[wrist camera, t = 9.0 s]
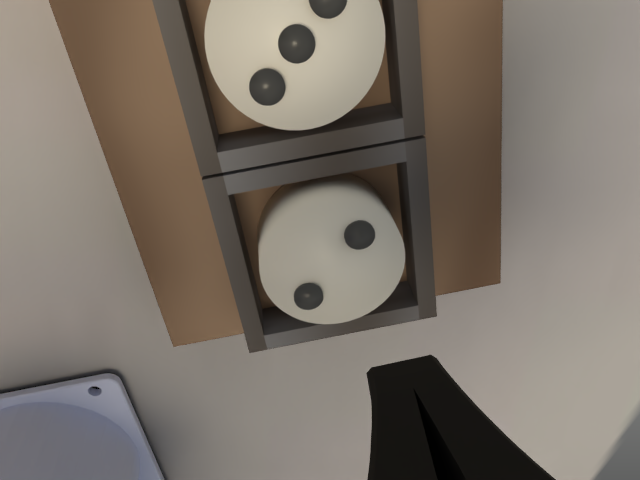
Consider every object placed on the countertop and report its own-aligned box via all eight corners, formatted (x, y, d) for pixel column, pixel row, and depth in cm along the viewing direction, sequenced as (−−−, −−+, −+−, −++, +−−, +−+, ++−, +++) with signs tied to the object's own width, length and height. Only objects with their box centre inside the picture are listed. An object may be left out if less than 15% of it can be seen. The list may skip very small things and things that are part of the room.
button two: (271, 299, 20) (274, 339, 18) (244, 185, 18) (245, 217, 16) (395, 275, 20) (411, 312, 19) (384, 159, 18) (400, 187, 16)
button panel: (178, 313, 23) (169, 376, 20) (-72, -419, 13) (-170, -522, 10) (480, 255, 23) (517, 307, 20) (471, -504, 13) (542, -630, 10)
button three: (229, 120, 17) (227, 146, 15) (189, -46, 15) (182, -39, 13) (377, 93, 17) (394, 115, 15) (360, -76, 15) (377, -74, 13)
